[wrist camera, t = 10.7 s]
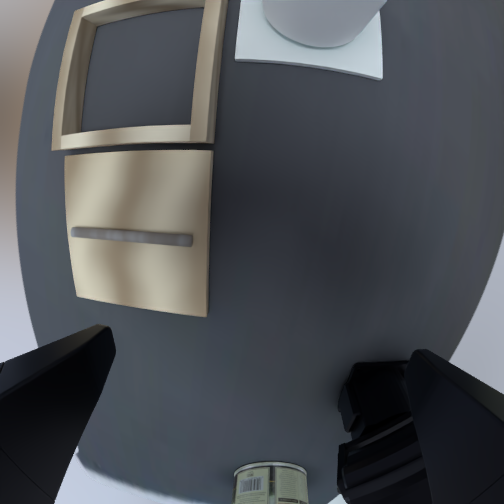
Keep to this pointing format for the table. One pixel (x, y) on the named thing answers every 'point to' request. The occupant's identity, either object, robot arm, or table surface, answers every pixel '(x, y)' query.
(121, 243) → the beige slotted open frame
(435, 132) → the table surface
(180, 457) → the table surface
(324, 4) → the can
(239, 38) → the mat
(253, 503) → the coffee can
